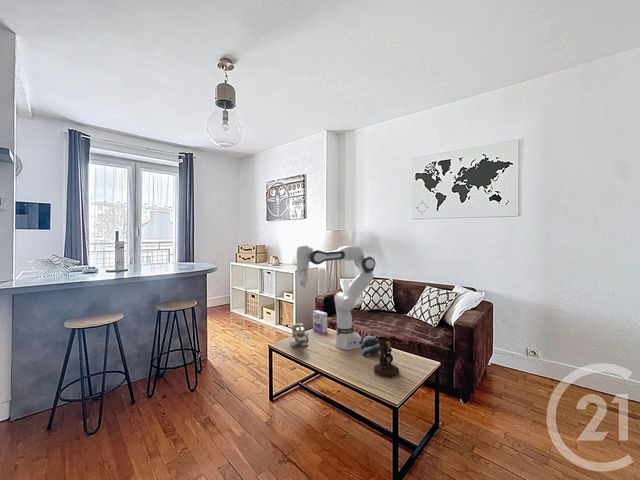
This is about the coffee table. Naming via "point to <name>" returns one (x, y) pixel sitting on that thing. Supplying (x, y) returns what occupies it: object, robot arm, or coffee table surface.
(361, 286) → the robot arm
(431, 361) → the coffee table surface
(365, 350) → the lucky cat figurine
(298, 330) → the rider
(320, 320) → the candy box
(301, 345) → the grey gold rectangular frame
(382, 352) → the brown statuette
